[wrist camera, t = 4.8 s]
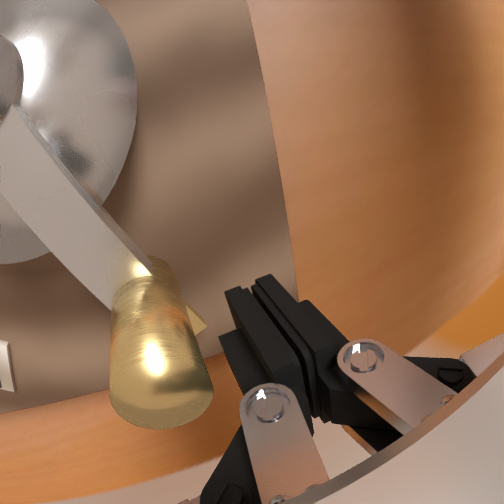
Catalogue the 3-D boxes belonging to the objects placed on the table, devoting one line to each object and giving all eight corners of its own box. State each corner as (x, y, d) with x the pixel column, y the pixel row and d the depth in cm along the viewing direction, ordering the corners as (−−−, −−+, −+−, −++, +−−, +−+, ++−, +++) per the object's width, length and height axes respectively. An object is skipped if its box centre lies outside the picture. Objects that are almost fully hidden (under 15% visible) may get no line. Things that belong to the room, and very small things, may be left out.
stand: (-135, 39, 3) (-154, 36, 1) (202, -117, 8) (213, -140, 6) (-20, 398, 15) (-27, 422, 13) (287, 305, 21) (305, 326, 19)
